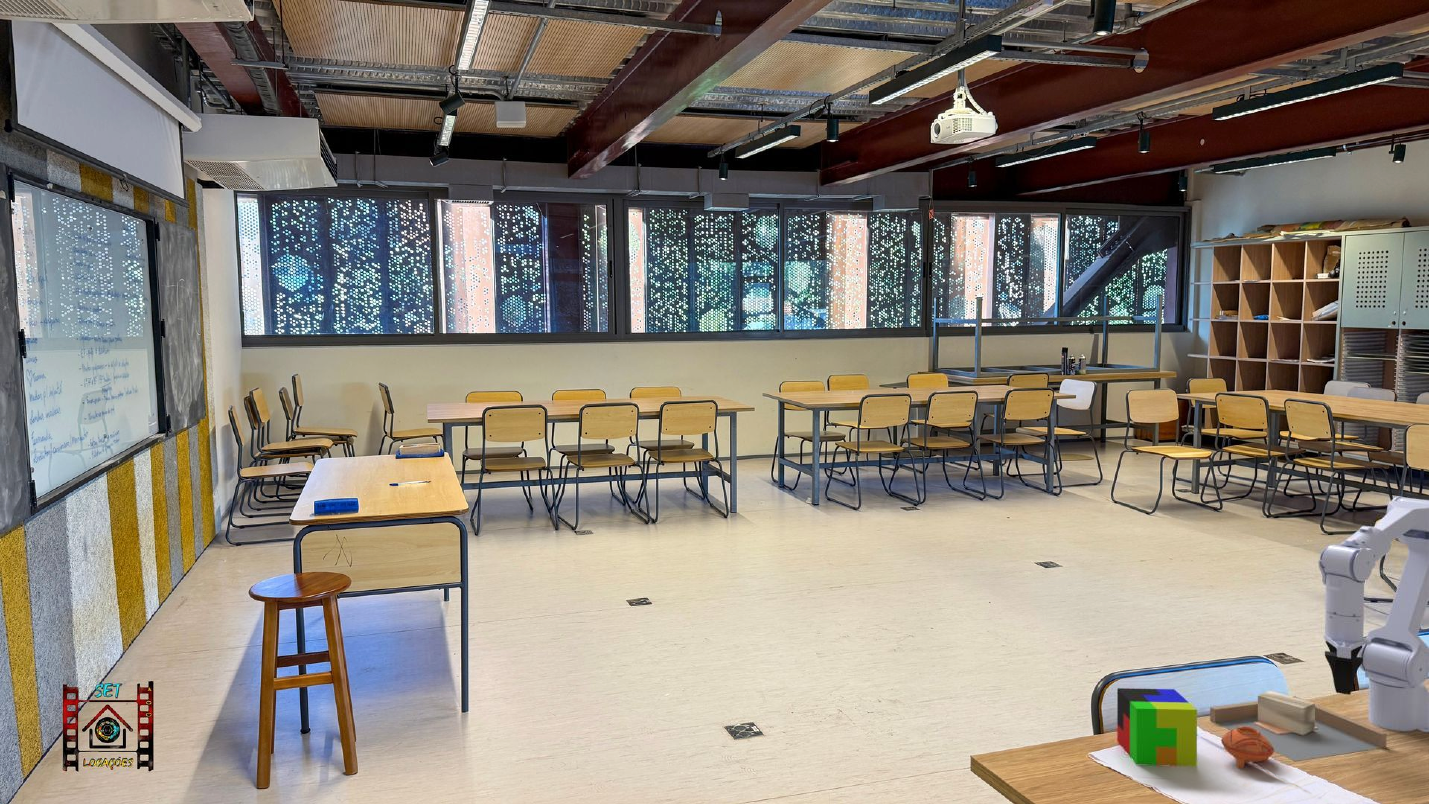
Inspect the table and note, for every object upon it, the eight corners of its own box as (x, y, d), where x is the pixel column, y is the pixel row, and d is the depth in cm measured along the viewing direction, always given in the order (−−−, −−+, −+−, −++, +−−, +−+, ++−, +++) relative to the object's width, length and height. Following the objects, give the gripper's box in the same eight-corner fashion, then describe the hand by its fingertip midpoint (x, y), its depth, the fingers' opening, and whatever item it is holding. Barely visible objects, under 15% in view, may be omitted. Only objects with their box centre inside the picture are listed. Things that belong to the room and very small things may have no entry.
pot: (1207, 756, 163) (1214, 717, 164) (1243, 761, 165) (1249, 723, 165) (1244, 773, 155) (1251, 733, 156) (1281, 779, 157) (1287, 739, 158)
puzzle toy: (1173, 742, 170) (1174, 689, 169) (1196, 766, 160) (1197, 709, 159) (1117, 741, 171) (1117, 688, 170) (1136, 765, 161) (1136, 708, 160)
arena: (1294, 712, 183) (1294, 696, 183) (1386, 751, 164) (1386, 733, 164) (1210, 724, 178) (1210, 707, 178) (1294, 765, 159) (1295, 746, 159)
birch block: (1269, 716, 179) (1270, 690, 178) (1314, 729, 172) (1315, 703, 172) (1257, 721, 176) (1257, 695, 176) (1302, 735, 170) (1303, 708, 169)
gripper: (1372, 625, 159) (1371, 703, 160) (1370, 606, 171) (1369, 679, 171) (1323, 619, 163) (1322, 695, 163) (1324, 601, 175) (1323, 672, 175)
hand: (1343, 686), depth 168 cm, fingers open, 7 cm apart
